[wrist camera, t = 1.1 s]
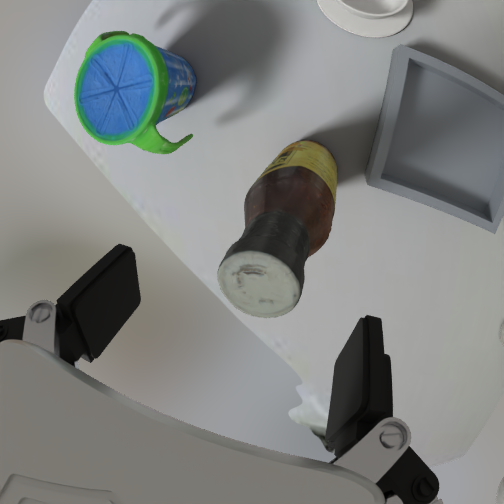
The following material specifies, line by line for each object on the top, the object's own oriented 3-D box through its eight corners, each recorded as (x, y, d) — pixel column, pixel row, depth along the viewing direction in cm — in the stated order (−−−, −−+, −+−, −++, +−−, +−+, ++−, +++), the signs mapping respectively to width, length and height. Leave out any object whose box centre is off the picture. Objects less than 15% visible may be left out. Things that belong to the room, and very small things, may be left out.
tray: (516, 112, 17) (533, 116, 15) (483, 220, 25) (494, 233, 22) (392, 49, 20) (400, 44, 17) (364, 175, 28) (367, 185, 25)
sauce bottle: (291, 128, 27) (214, 186, 11) (347, 154, 27) (359, 255, 11) (269, 182, 31) (183, 297, 15) (321, 206, 31) (291, 348, 14)
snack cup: (236, 122, 29) (192, 137, 20) (163, 159, 33) (109, 187, 25) (180, 12, 23) (123, -7, 14) (116, 60, 27) (55, 63, 19)
